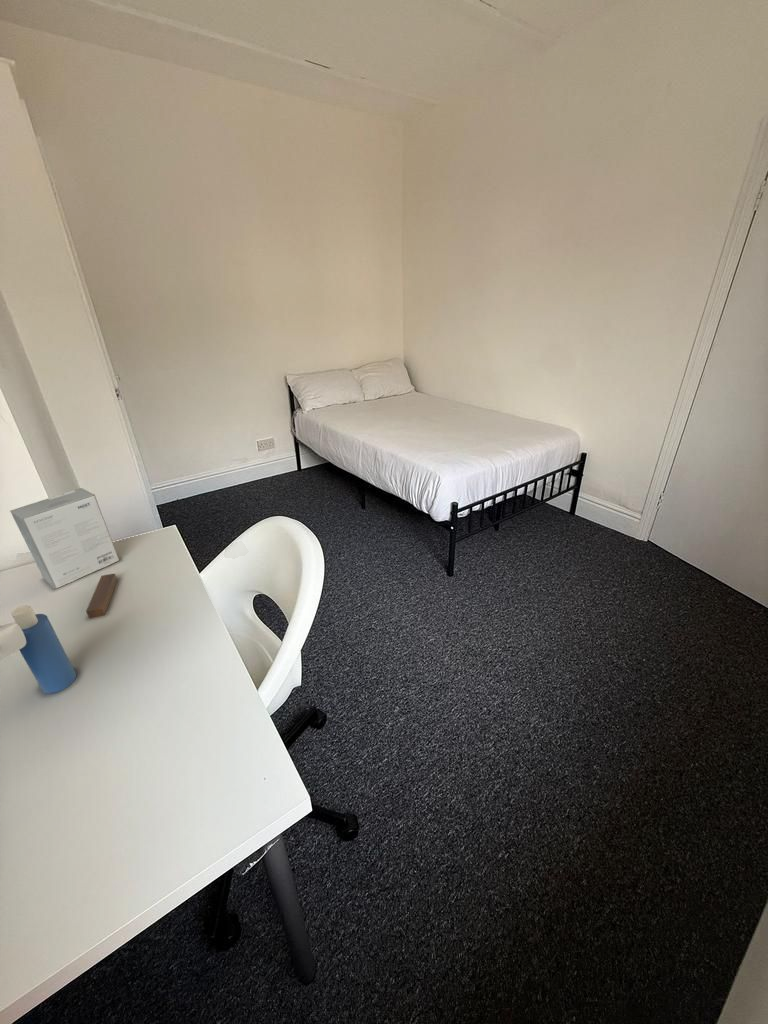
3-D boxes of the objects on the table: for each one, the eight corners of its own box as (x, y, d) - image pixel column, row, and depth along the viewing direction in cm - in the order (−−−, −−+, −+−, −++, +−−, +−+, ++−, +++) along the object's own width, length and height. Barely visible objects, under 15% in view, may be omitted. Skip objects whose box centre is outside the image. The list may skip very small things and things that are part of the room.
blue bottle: (37, 697, 74) (-5, 624, 66) (47, 675, 78) (8, 604, 70) (71, 688, 75) (34, 616, 67) (79, 667, 79) (45, 597, 72)
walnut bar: (88, 618, 92) (85, 611, 91) (103, 582, 104) (101, 575, 103) (104, 615, 93) (101, 608, 92) (117, 579, 105) (114, 573, 104)
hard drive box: (107, 552, 116) (83, 487, 107) (120, 561, 112) (96, 493, 103) (42, 579, 105) (8, 509, 96) (54, 590, 101) (20, 518, 92)
